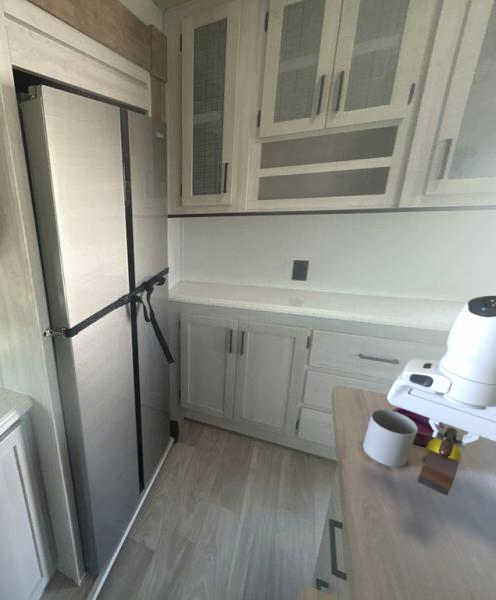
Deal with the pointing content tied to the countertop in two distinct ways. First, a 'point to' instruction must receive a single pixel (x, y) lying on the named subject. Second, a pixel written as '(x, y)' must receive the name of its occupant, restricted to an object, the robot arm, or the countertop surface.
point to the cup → (389, 437)
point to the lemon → (435, 446)
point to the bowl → (420, 426)
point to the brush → (440, 465)
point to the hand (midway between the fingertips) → (448, 441)
